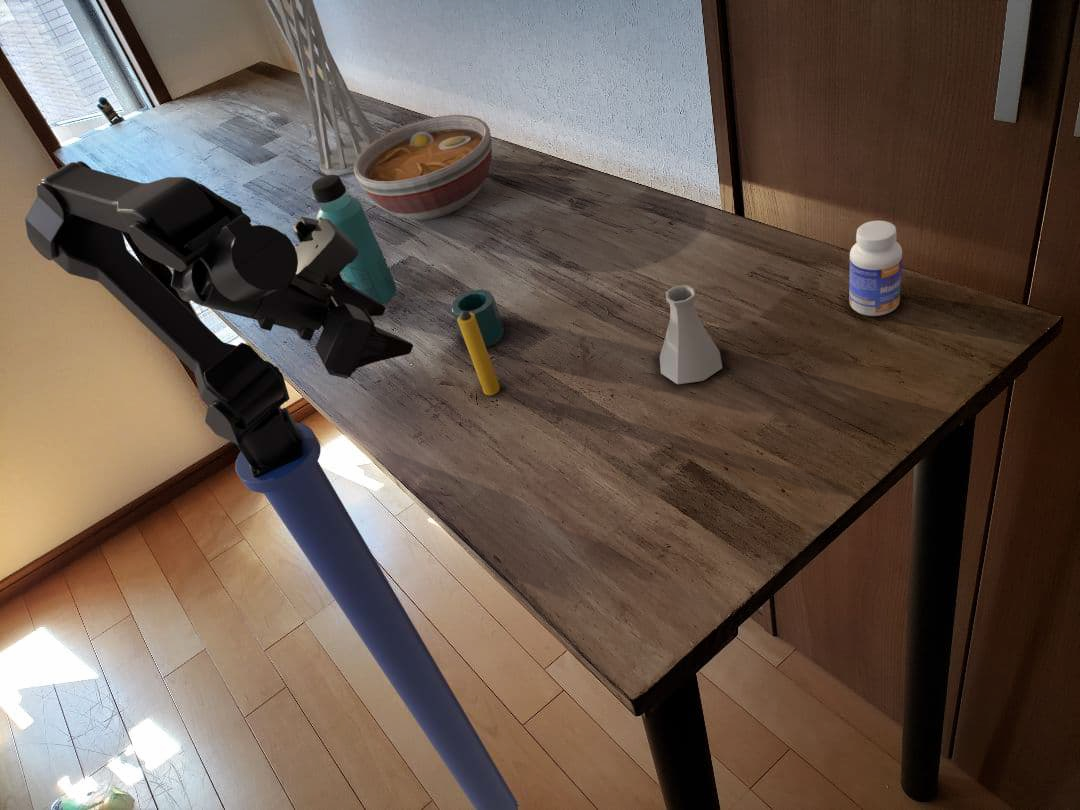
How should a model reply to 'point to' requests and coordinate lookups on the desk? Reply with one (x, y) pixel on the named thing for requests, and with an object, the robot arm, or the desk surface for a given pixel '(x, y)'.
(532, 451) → the desk surface
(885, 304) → the pill bottle
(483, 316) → the pen pot
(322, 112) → the vase
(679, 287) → the flask
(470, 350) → the pencil
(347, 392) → the desk surface
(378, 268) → the beverage bottle
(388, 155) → the bowl
